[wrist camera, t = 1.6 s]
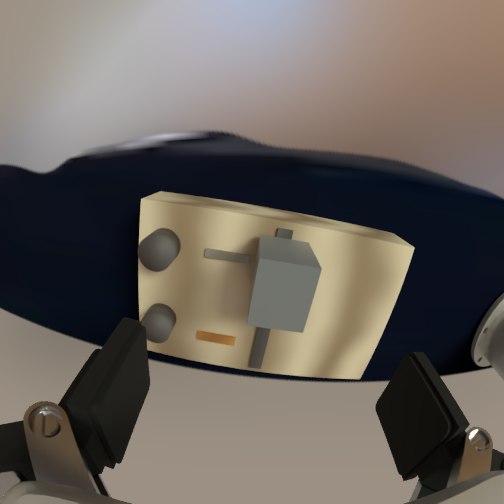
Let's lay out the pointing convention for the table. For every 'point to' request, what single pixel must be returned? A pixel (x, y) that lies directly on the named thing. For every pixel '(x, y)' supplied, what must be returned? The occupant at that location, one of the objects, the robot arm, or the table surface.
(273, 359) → the fader console
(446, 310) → the table surface
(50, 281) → the table surface
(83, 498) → the robot arm
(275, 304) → the fader tab
